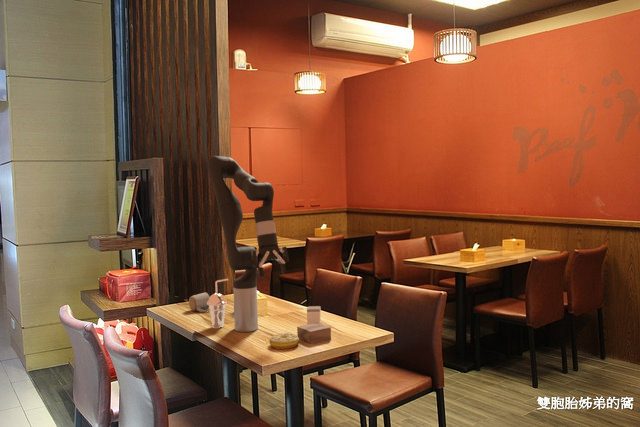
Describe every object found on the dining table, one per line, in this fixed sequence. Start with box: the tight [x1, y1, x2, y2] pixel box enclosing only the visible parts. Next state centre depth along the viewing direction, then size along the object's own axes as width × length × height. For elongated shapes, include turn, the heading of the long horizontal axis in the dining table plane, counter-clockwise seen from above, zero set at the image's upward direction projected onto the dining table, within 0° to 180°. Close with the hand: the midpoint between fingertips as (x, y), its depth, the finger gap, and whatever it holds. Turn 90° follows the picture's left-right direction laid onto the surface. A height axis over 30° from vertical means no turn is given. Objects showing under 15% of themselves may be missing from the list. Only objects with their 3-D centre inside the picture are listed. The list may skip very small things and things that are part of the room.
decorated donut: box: [268, 332, 300, 350], centre depth 208 cm, size 10×11×4 cm
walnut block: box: [296, 323, 332, 344], centre depth 215 cm, size 9×9×4 cm
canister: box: [306, 305, 322, 325], centre depth 227 cm, size 5×5×9 cm
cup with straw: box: [207, 278, 230, 329], centre depth 236 cm, size 8×9×20 cm
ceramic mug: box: [188, 292, 210, 313], centre depth 266 cm, size 11×8×8 cm
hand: (272, 275), depth 218 cm, fingers open, 8 cm apart
